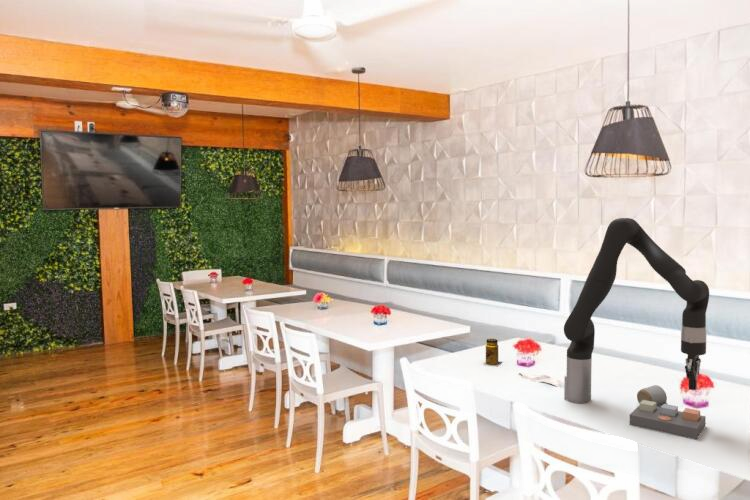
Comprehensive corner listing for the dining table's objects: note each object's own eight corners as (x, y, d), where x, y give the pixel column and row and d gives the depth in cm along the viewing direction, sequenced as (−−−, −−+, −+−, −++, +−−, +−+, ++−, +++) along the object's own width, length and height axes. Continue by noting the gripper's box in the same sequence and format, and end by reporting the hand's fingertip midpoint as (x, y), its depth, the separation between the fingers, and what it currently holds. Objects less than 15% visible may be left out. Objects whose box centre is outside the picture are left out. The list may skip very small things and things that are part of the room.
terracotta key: (682, 420, 200) (682, 411, 200) (685, 416, 204) (685, 407, 204) (697, 423, 197) (697, 414, 197) (700, 419, 201) (700, 410, 201)
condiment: (482, 364, 283) (482, 340, 282) (488, 360, 290) (488, 336, 289) (497, 366, 279) (497, 341, 278) (502, 362, 287) (502, 338, 286)
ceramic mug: (634, 405, 224) (635, 385, 224) (650, 401, 228) (651, 382, 227) (658, 414, 215) (658, 394, 214) (674, 411, 218) (674, 391, 217)
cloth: (578, 387, 249) (578, 381, 249) (554, 392, 242) (554, 387, 242) (535, 372, 272) (535, 367, 272) (512, 376, 265) (512, 371, 265)
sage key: (639, 411, 209) (639, 403, 209) (642, 408, 213) (643, 399, 212) (652, 414, 206) (653, 405, 206) (656, 410, 210) (656, 402, 210)
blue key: (660, 416, 205) (660, 407, 204) (663, 412, 208) (663, 403, 208) (674, 419, 202) (674, 409, 202) (677, 415, 205) (677, 406, 205)
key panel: (629, 424, 205) (629, 413, 204) (640, 413, 215) (641, 402, 215) (696, 439, 191) (697, 427, 191) (705, 426, 202) (705, 415, 202)
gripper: (685, 334, 206) (684, 382, 207) (676, 341, 196) (675, 392, 197) (709, 337, 201) (708, 386, 202) (702, 344, 191) (701, 396, 192)
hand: (692, 389), depth 200 cm, fingers closed
